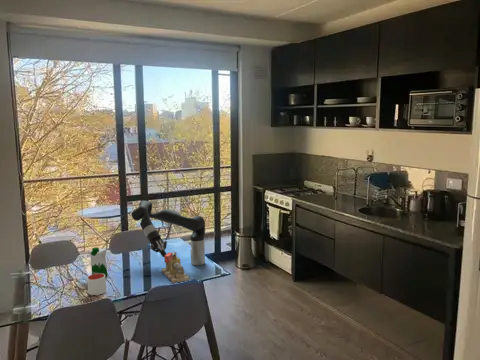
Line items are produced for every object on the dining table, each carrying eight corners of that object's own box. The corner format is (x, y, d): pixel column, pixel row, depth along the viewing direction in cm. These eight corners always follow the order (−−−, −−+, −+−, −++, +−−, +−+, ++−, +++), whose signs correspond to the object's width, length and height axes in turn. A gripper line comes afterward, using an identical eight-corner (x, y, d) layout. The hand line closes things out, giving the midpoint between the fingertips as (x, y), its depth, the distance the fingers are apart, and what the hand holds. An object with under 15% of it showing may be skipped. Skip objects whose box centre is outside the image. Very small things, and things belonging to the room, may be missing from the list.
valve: (161, 271, 273) (160, 251, 271) (176, 268, 278) (175, 249, 276) (173, 283, 252) (172, 262, 250) (189, 280, 257) (188, 259, 255)
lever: (164, 262, 251) (163, 256, 250) (172, 254, 265) (172, 248, 264) (169, 262, 250) (168, 256, 250) (177, 254, 264) (176, 248, 264)
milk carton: (89, 279, 264) (87, 249, 261) (98, 274, 272) (96, 244, 269) (101, 280, 261) (98, 250, 258) (110, 275, 269) (107, 245, 266)
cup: (91, 289, 247) (89, 273, 245) (108, 288, 248) (106, 272, 246) (86, 296, 237) (84, 280, 235) (104, 295, 238) (102, 279, 236)
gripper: (157, 234, 267) (170, 256, 261) (140, 239, 257) (153, 262, 251) (162, 228, 263) (175, 250, 256) (145, 232, 253) (159, 255, 246)
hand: (165, 256), depth 253 cm, fingers closed
